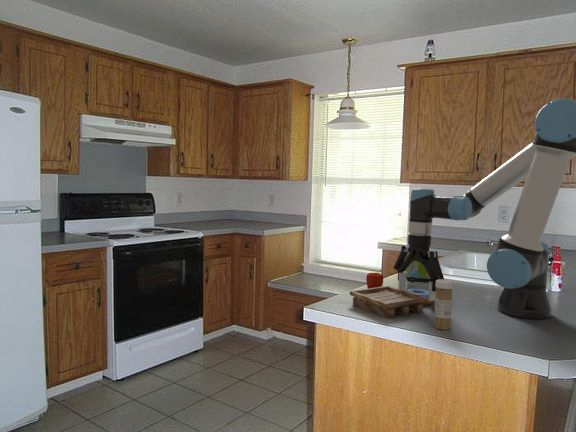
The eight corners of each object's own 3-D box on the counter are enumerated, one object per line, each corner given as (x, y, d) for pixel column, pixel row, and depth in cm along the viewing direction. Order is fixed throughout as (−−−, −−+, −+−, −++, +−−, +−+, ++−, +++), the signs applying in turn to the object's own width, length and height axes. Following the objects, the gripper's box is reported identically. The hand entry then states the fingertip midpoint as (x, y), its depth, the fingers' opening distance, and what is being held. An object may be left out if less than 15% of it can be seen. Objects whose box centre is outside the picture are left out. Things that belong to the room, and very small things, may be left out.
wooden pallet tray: (425, 311, 139) (426, 297, 138) (385, 319, 130) (386, 303, 130) (387, 299, 153) (388, 285, 153) (349, 305, 144) (349, 291, 144)
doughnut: (411, 295, 158) (411, 283, 157) (438, 302, 151) (439, 289, 150) (398, 303, 150) (398, 291, 150) (425, 311, 144) (426, 298, 143)
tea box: (434, 292, 164) (435, 253, 163) (406, 290, 166) (407, 252, 165) (429, 283, 179) (431, 247, 178) (404, 282, 181) (405, 246, 180)
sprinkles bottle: (446, 325, 126) (448, 278, 125) (453, 330, 121) (455, 282, 120) (431, 325, 126) (433, 278, 125) (437, 330, 121) (439, 282, 120)
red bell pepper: (374, 295, 158) (374, 275, 157) (362, 291, 163) (362, 271, 162) (386, 293, 161) (387, 273, 160) (374, 289, 166) (375, 270, 166)
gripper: (458, 238, 140) (453, 303, 142) (400, 229, 162) (397, 285, 164) (442, 239, 136) (437, 306, 138) (385, 230, 158) (382, 288, 160)
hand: (416, 295), depth 151 cm, fingers open, 13 cm apart
